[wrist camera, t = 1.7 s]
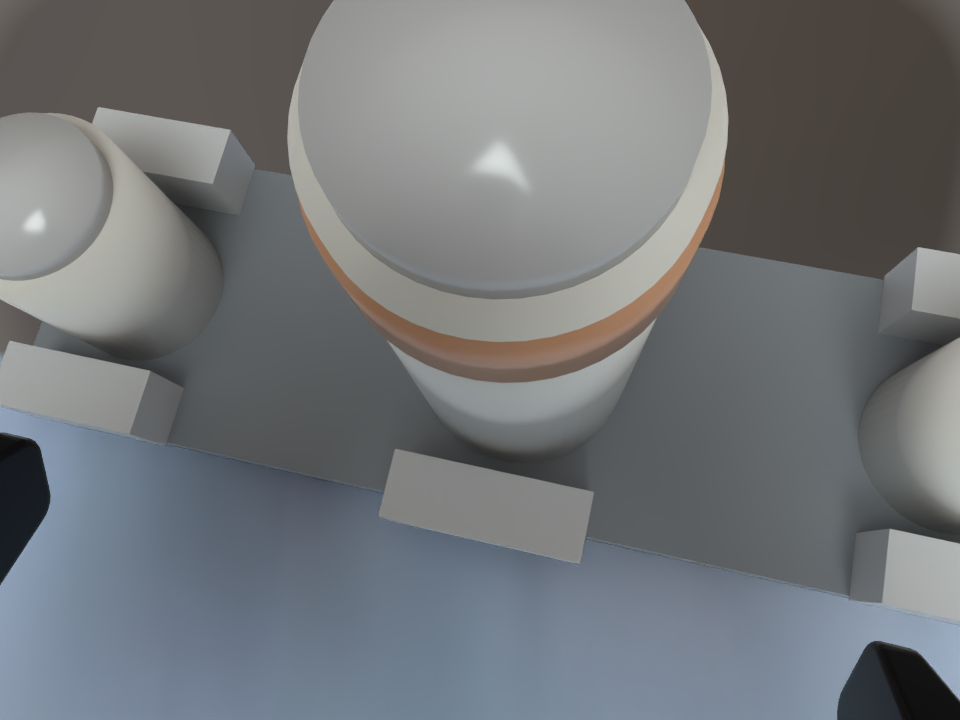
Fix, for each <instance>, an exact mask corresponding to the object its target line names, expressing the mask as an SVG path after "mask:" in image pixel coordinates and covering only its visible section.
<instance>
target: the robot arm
mask: <svg viewBox="0 0 960 720" xmlns="http://www.w3.org/2000/svg"><path fill="white" fill-rule="evenodd" d="M49 504H50V490H49V485H48V481H47V476H46V472H45V467H44V463H43V458H42V454H41V450H40V447H39V446H38V445H37V443H36V442H35V441H33V440H32V439H29V438H25V437H21V436H17V435H12V434H8V433H0V585H1V583H2V581H3V580H4V578H5V577H6V575H7V574H8V572H9V571H10V569H11V568H12V566H13V565H14V563H15V562H16V560H17V559H18V557H19V556H20V554H21V553H22V551H23V550H24V548H25V546H26V545H27V543H28V542H29V540H30V539H31V537H32V536H33V534H34V533H35V531H36V530H37V528H38V527H39V525H40V524H41V522H42V521H43V519H44V517H45V515H46V513H47V511H48V508H49ZM837 720H960V700H959V699H958V698H957V697H956V695H955V694H954V693H953V692H952V691H951V690H950V688H949V687H948V686H947V685H946V684H945V682H944V681H943V680H942V679H941V678H940V676H939V675H938V674H937V673H936V672H935V670H934V669H933V668H932V667H931V666H930V665H929V663H928V662H927V661H926V660H925V659H924V658H923V657H922V656H921V655H920V654H919V653H918V652H917V651H915V650H912V649H910V648H906V647H901V646H897V645H893V644H889V643H885V642H881V641H874V642H871V643H870V644H868V645H867V646H866V648H865V649H864V651H863V653H862V654H861V656H860V658H859V660H858V662H857V664H856V666H855V667H854V669H853V671H852V673H851V675H850V677H849V678H848V680H847V682H846V684H845V686H844V688H843V690H842V692H841V695H840V698H839V702H838V710H837Z"/></svg>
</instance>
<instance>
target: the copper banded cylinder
mask: <svg viewBox="0 0 960 720" xmlns="http://www.w3.org/2000/svg"><path fill="white" fill-rule="evenodd" d="M727 134H728V110H727V100H726V91H725V88H724V83H723V80H722V76H721V72H720V68H719V65H718V63H717V60H716V58H715V56H714V53H713V51H712V48H711V46H710V44H709V42H708V40H707V39H706V37H705V35H704V34H703V32H702V30H701V29H700V27H699V25H698V24H697V22H696V19H695V17H694V15H693V14H692V12H691V10H690V9H689V7H688V5H687V4H686V2H685V0H334V1H333V2H332V4H331V5H330V7H329V8H328V10H327V11H326V13H325V14H324V16H323V17H322V19H321V21H320V23H319V25H318V27H317V29H316V31H315V32H314V34H313V37H312V39H311V41H310V44H309V47H308V50H307V53H306V56H305V58H304V62H303V65H302V67H301V70H300V73H299V76H298V79H297V81H296V84H295V87H294V91H293V96H292V100H291V105H290V111H289V119H288V136H287V141H288V152H289V164H290V168H291V173H292V177H293V181H294V185H295V189H296V192H297V195H298V199H299V204H300V208H301V212H302V216H303V218H304V221H305V223H306V226H307V228H308V231H309V233H310V236H311V238H312V240H313V242H314V244H315V245H316V247H317V249H318V251H319V252H320V254H321V256H322V258H323V259H324V261H325V263H326V264H327V265H328V267H329V268H330V270H331V271H332V273H333V274H334V276H335V277H336V278H337V280H338V281H339V283H340V284H341V286H342V287H343V289H344V290H345V291H346V293H347V294H348V296H349V297H350V299H351V300H352V302H353V303H354V304H355V306H356V307H357V308H358V310H359V311H360V312H361V313H362V315H363V316H364V317H365V319H366V320H367V321H368V322H369V324H371V325H372V326H373V327H374V328H375V329H376V330H377V331H378V332H379V333H380V334H381V335H382V336H383V337H384V338H385V339H386V340H387V341H388V343H389V344H390V346H391V347H392V349H393V350H394V352H395V353H396V355H397V356H398V358H399V359H400V361H401V362H402V364H403V366H404V367H405V369H406V370H407V372H408V373H409V375H410V376H411V378H412V379H413V381H414V382H415V384H416V385H417V387H418V388H419V390H420V391H421V393H422V394H423V396H424V397H425V399H426V400H427V402H428V403H429V405H430V406H431V408H432V410H433V411H434V413H435V414H436V416H437V417H438V419H439V420H440V421H441V423H442V424H443V425H444V426H445V428H446V429H447V430H448V431H449V432H450V433H451V434H452V435H453V436H454V437H455V438H456V439H458V440H459V441H460V442H462V443H463V444H464V445H466V446H467V447H469V448H470V449H472V450H474V451H476V452H478V453H480V454H482V455H485V456H487V457H490V458H493V459H497V460H501V461H505V462H514V463H534V462H541V461H547V460H550V459H554V458H557V457H560V456H562V455H565V454H567V453H569V452H572V451H573V450H575V449H577V448H578V447H580V446H582V445H583V444H584V443H586V442H587V441H588V440H589V439H591V438H592V437H593V436H594V435H595V434H596V433H597V432H598V431H599V430H600V429H601V428H602V427H603V426H604V424H605V423H606V422H607V420H608V419H609V417H610V416H611V415H612V413H613V411H614V409H615V407H616V405H617V403H618V401H619V399H620V397H621V395H622V392H623V390H624V388H625V386H626V384H627V381H628V379H629V377H630V375H631V373H632V371H633V368H634V366H635V364H636V362H637V360H638V358H639V355H640V353H641V351H642V349H643V347H644V344H645V342H646V340H647V338H648V336H649V334H650V331H651V329H652V327H653V325H654V323H655V321H656V318H657V317H658V316H659V315H660V313H661V312H662V311H663V309H664V308H665V307H666V305H667V304H668V302H669V301H670V300H671V298H672V297H673V296H674V294H675V292H676V290H677V288H678V287H679V285H680V283H681V281H682V279H683V277H684V275H685V273H686V271H687V269H688V267H689V265H690V263H691V261H692V259H693V257H694V255H695V253H696V251H697V249H698V247H699V244H700V243H701V241H702V239H703V236H704V234H705V232H706V230H707V228H708V226H709V224H710V221H711V219H712V216H713V213H714V210H715V208H716V205H717V202H718V199H719V195H720V190H721V185H722V180H723V176H724V166H725V152H726V147H727Z"/></svg>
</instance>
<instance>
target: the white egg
mask: <svg viewBox="0 0 960 720" xmlns="http://www.w3.org/2000/svg"><path fill="white" fill-rule="evenodd" d="M859 449H860V455H861V459H862V463H863V466H864V468H865V471H866V473H867V476H868V478H869V479H870V481H871V483H872V485H873V486H874V488H875V489H876V491H877V492H878V493H879V495H880V496H881V497H882V498H883V499H884V500H885V501H886V502H887V504H888V505H889V506H891V507H892V508H893V509H894V510H895V511H896V512H898V513H899V514H900V515H902V516H903V517H905V518H906V519H908V520H909V521H911V522H913V523H915V524H917V525H919V526H921V527H924V528H926V529H929V530H932V531H936V532H940V533H944V534H952V535H960V337H959V338H957V339H956V340H954V341H952V342H950V343H948V344H947V345H945V346H943V347H941V348H939V349H938V350H936V351H934V352H932V353H931V354H929V355H927V356H925V357H923V358H922V359H920V360H918V361H916V362H914V363H913V364H911V365H909V366H907V367H905V368H904V369H902V370H900V371H898V372H897V373H895V374H893V375H892V376H890V377H889V378H887V379H886V380H885V381H884V382H883V383H881V384H880V385H879V386H878V388H877V389H876V390H875V391H874V392H873V394H872V395H871V397H870V398H869V400H868V401H867V403H866V406H865V408H864V410H863V413H862V416H861V420H860V426H859Z"/></svg>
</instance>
